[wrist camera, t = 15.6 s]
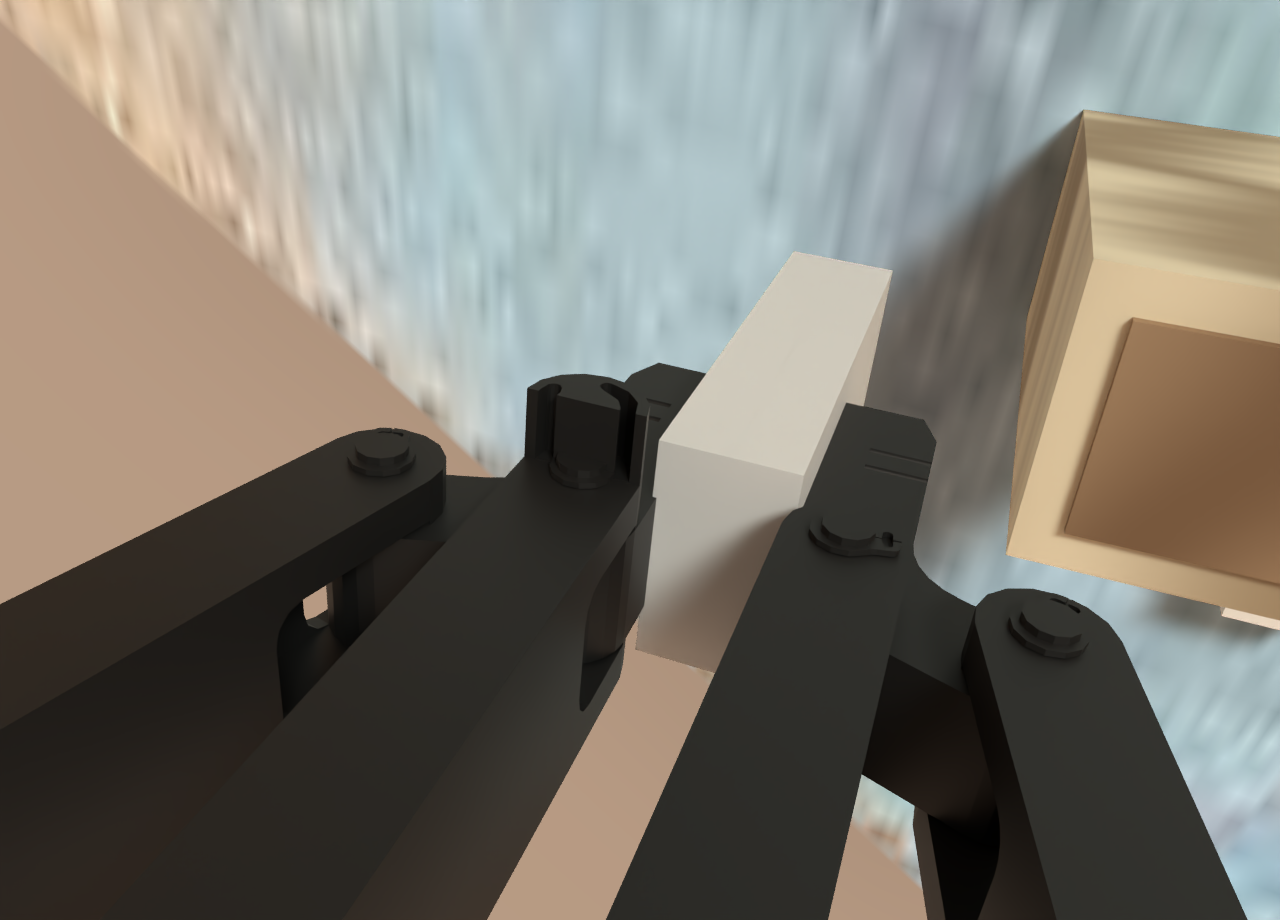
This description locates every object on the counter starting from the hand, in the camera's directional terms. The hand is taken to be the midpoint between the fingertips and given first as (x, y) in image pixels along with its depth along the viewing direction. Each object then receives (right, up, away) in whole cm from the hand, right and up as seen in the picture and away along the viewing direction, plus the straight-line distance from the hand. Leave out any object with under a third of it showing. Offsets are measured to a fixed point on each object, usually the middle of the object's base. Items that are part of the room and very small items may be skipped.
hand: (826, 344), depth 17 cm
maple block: (+8, +3, +6) cm, 10 cm away
